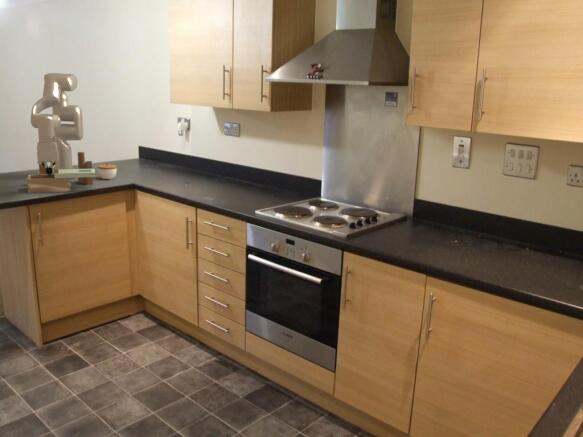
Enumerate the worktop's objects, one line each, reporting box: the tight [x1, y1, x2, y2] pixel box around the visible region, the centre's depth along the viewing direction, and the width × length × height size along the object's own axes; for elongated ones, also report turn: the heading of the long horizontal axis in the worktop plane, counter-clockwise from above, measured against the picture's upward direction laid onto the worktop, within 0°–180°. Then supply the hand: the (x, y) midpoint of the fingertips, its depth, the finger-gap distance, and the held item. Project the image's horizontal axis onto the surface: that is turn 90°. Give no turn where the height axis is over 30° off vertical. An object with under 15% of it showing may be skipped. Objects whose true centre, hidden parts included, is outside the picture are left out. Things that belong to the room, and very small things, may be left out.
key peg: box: [38, 164, 46, 175], centre depth 289 cm, size 4×4×16 cm
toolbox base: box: [26, 173, 71, 194], centre depth 279 cm, size 12×20×8 cm, turn 113°
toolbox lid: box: [53, 165, 96, 179], centre depth 282 cm, size 12×20×4 cm, turn 113°
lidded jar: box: [97, 162, 118, 180], centre depth 317 cm, size 11×11×9 cm
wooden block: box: [77, 151, 94, 186], centre depth 297 cm, size 4×11×18 cm, turn 48°
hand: (49, 174), depth 277 cm, fingers closed
